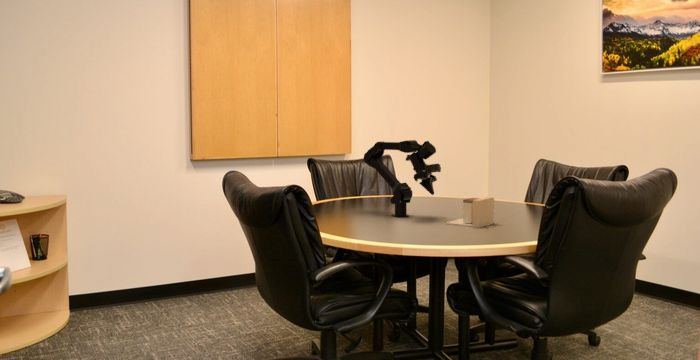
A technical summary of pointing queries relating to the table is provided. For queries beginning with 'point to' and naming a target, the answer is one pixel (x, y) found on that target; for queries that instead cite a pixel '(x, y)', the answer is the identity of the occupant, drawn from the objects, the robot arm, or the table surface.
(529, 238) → the table surface
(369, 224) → the table surface
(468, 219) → the brown topped beige block
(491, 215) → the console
